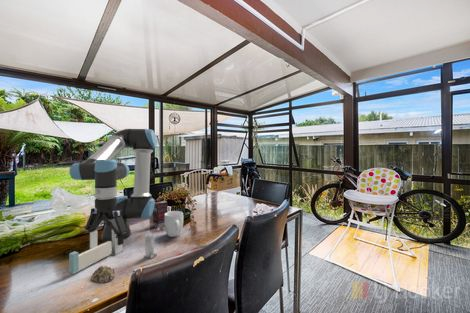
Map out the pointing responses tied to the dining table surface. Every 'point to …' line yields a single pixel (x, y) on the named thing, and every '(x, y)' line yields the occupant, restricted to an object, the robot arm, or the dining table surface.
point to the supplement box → (159, 213)
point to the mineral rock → (103, 274)
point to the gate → (88, 257)
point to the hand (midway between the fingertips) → (105, 249)
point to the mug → (173, 223)
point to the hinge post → (113, 244)
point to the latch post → (150, 247)
